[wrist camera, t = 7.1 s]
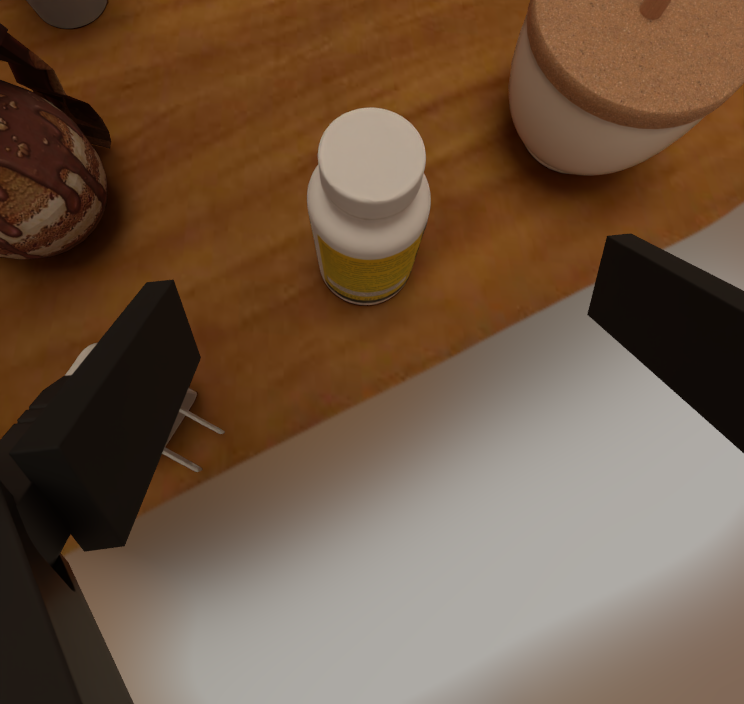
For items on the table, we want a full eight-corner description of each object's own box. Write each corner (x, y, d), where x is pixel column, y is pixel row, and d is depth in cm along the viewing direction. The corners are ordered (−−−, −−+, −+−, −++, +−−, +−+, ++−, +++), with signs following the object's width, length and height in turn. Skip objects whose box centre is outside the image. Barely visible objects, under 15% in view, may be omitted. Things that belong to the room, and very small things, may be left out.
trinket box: (501, 45, 28) (571, -143, 19) (658, 83, 28) (803, -88, 19) (469, 183, 26) (530, 47, 17) (638, 226, 26) (792, 111, 17)
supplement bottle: (425, 289, 25) (468, 195, 15) (337, 320, 24) (324, 242, 15) (392, 209, 26) (412, 74, 16) (307, 237, 25) (276, 113, 16)
